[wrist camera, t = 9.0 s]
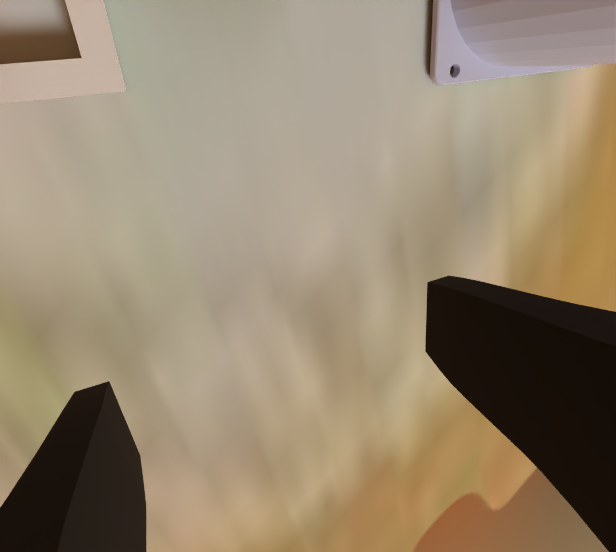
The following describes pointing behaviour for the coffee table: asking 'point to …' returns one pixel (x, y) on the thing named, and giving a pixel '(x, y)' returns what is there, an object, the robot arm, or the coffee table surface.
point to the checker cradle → (70, 62)
